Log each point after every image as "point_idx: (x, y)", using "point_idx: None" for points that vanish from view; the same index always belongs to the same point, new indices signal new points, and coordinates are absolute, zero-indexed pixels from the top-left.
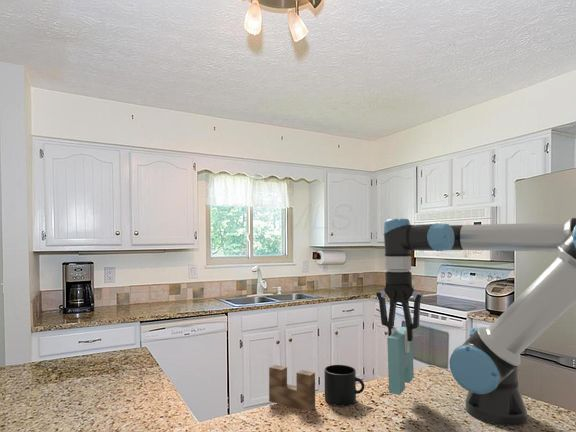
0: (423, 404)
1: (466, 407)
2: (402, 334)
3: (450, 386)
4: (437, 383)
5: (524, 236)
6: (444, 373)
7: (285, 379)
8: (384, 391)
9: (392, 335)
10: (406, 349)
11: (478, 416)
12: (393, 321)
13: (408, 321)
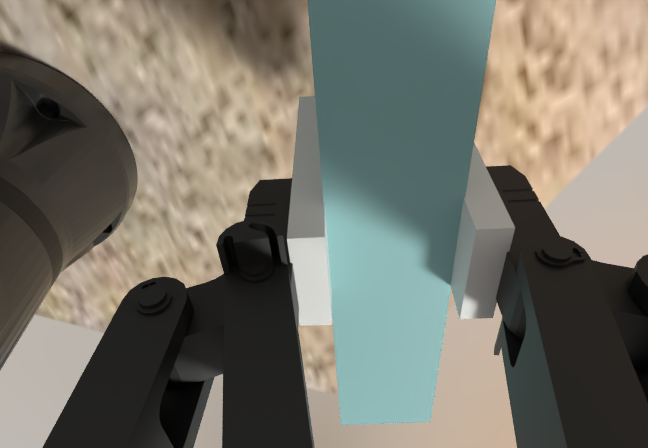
0: (280, 86)
1: (110, 124)
2: (333, 164)
3: None
4: None
5: None
6: (308, 369)
7: None
8: None
9: (457, 30)
10: (307, 114)
11: (34, 66)
12: (517, 360)
13: (243, 355)
